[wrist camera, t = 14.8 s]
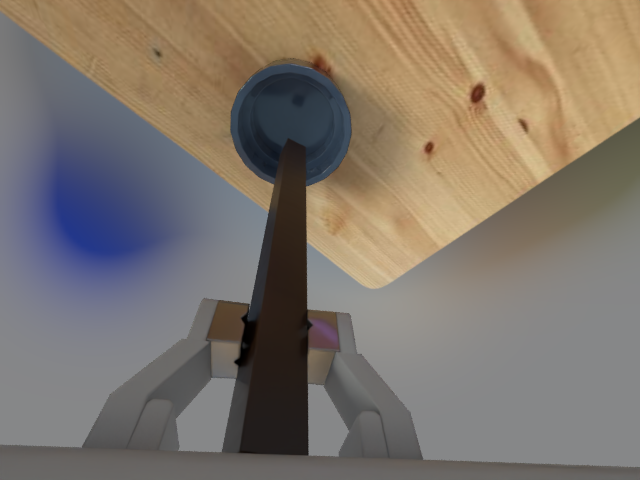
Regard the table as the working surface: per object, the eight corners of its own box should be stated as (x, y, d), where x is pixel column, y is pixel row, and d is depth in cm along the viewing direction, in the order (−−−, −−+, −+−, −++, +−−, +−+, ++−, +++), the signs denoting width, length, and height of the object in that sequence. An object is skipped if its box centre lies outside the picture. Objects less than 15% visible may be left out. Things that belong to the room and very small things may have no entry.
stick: (279, 155, 25) (215, 479, 7) (288, 137, 24) (239, 451, 6) (297, 163, 26) (279, 489, 8) (306, 146, 25) (309, 464, 7)
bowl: (239, 157, 37) (229, 178, 32) (244, 47, 30) (232, 50, 25) (332, 173, 38) (336, 195, 33) (356, 71, 32) (365, 79, 27)
